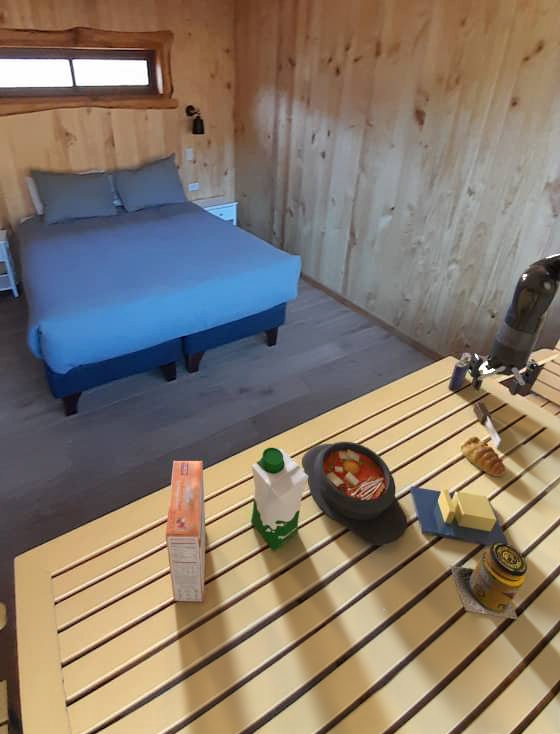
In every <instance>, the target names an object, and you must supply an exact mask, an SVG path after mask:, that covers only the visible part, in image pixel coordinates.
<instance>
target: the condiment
mask: <svg viewBox="0 0 560 734" xmlns="http://www.w3.org/2000/svg"><path fill="white" fill-rule="evenodd" d="M449 568H450V570H451V573H452V576H453V579H454V582H455V585H456V588H457V591H458V595H459V596H460V599H461V602H462V604H463V605H462V606H463V607H464V610H465V611H466V612H471V613H472V612H473V613H479V614H485V615H490V616H493V617H501V618H506V619H513V620H519V618H518V615H517V613H516V611H515V609H514V607H513V605H512V603H511V602H512V601H513V600H514V598H515V596H516V595H517V594H518V591H519V590H520V588H521V587H522V586H523V584H524V582H525V575H526V573H527V570H528V564H527V562H526V559H525V557H524V555H523V554H522V553H521V552H520V551H519V550H518V549H517V548H515V547H514V546H513V545H511V544H510V543H508V544H507V543H505V542H499V541H498V542H494V543H492V545H490V546H488V548H486V549H484V551H483V552H482V554H481V556H480V558H479V560H478V562H477V564H476V566H475V567H474V568H470V567H464V566H463V567H462V566H457V565H451V564H450V565H449Z"/></svg>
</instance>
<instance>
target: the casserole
mask: <svg viewBox="0 0 560 734" xmlns="http://www.w3.org/2000/svg"><path fill="white" fill-rule="evenodd" d="M301 466H302V470H303V471H304V472H305V473H306V474H307V475H308V479H307V483H308V488H309V492H310V495H311V497H312V499H313V501H314V502H315V504H316V505H317V507H318V509H320V510H321V512H322V513H323V514H324V515H326V516H327V517H328V518H329V519H331V520H332V521H333V522H335V523H337V524H338V525H340V526H342V527H344V528H346V529H347V530H349V531H351V532H352V533H353V534H354V535H355V536H356V537H358V538H359V539H360V540H362V541H363V542H365V543H366V544H369V545H372V546H387V545H391V544H393V543H395V542H397V541H398V540H399V539H400V538H402V536H403V535H404V534H405V532H406V531H407V527H408V524H409V523H408V517H407V515H406V514H405V512H404V510H403V508H402V507H401V505H400V504H399V501H398V500H397V497H396V490H397V489H396V488H397V487H396V483H395V479H394V476H393V474H392V472H391V471H390V468H389V467H388V465H387V463H386V462H385V460H384V459H382V457H381V456H380V455H379V454H378V453H376V452H375V451H373V450H372V449H370V448H369V447H367V446H364V445H363V444H360V443H356V442H353V441H337V442H334V443H323V444H322V443H321V444H319V445H316V446H313V447H311V448H310V449H308V450H307V451H306V452H305V453H304V455H303V456H302V458H301Z"/></svg>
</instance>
